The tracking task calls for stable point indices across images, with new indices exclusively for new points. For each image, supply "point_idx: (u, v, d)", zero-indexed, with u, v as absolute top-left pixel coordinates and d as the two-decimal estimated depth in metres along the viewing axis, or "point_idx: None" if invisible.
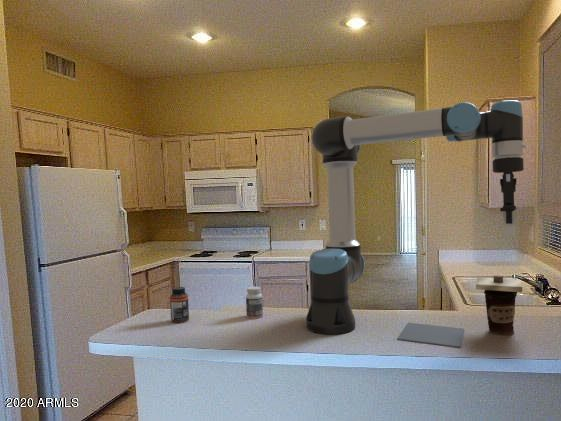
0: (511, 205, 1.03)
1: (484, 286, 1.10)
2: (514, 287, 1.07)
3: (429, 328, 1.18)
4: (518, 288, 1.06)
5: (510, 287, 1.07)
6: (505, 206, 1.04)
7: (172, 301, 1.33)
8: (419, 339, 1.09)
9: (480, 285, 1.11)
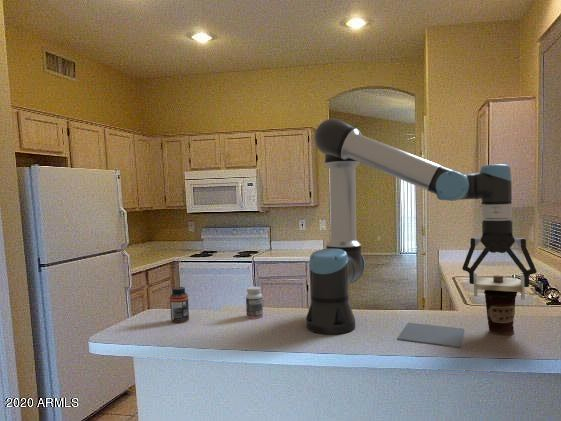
0: None
1: (484, 286, 1.10)
2: (514, 287, 1.07)
3: (429, 328, 1.18)
4: (518, 288, 1.06)
5: (510, 286, 1.07)
6: None
7: (172, 301, 1.33)
8: (419, 339, 1.09)
9: (480, 285, 1.11)
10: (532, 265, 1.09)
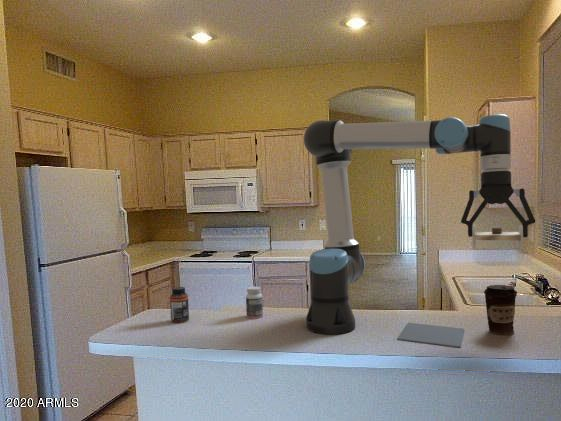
0: None
1: (482, 236, 1.10)
2: (512, 236, 1.07)
3: (429, 328, 1.18)
4: (516, 236, 1.06)
5: (508, 235, 1.07)
6: None
7: (172, 301, 1.33)
8: (419, 339, 1.09)
9: (478, 236, 1.11)
10: (531, 215, 1.08)
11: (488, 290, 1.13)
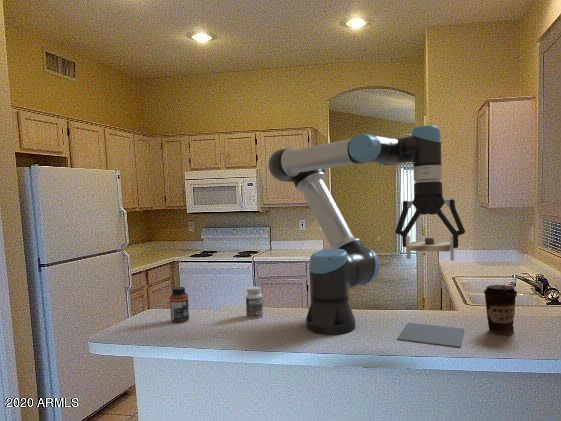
0: None
1: (413, 247, 1.10)
2: (441, 247, 1.07)
3: (429, 328, 1.18)
4: (445, 247, 1.06)
5: (437, 246, 1.07)
6: None
7: (172, 301, 1.33)
8: (419, 339, 1.09)
9: (409, 246, 1.11)
10: (460, 225, 1.08)
11: (488, 290, 1.13)
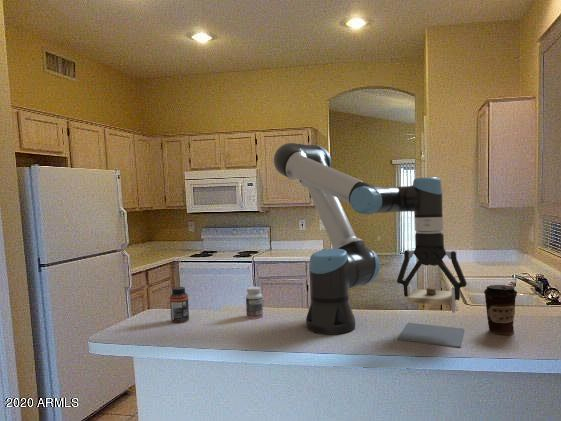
0: None
1: (415, 299, 1.10)
2: (443, 300, 1.07)
3: (429, 328, 1.18)
4: (446, 301, 1.06)
5: (439, 299, 1.07)
6: None
7: (172, 301, 1.33)
8: (419, 339, 1.09)
9: (411, 298, 1.11)
10: (462, 278, 1.09)
11: (488, 290, 1.13)
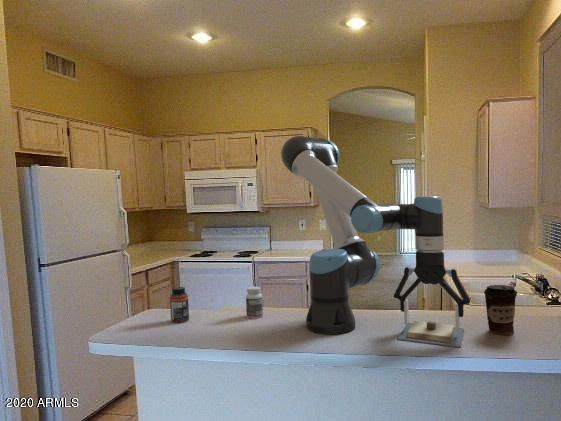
0: None
1: (415, 334, 1.11)
2: (443, 336, 1.07)
3: None
4: (447, 338, 1.07)
5: (439, 336, 1.08)
6: None
7: (172, 301, 1.33)
8: (419, 339, 1.09)
9: (411, 333, 1.11)
10: (465, 295, 1.08)
11: (488, 290, 1.13)
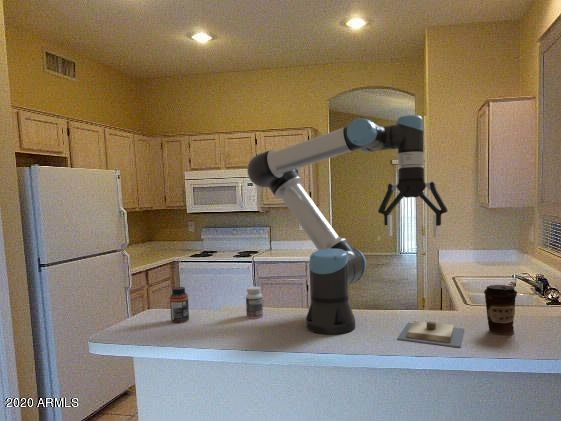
0: None
1: (415, 334, 1.11)
2: (443, 336, 1.07)
3: None
4: (447, 338, 1.07)
5: (439, 336, 1.08)
6: None
7: (172, 301, 1.33)
8: (419, 339, 1.09)
9: (411, 333, 1.11)
10: (442, 205, 1.18)
11: (488, 290, 1.13)
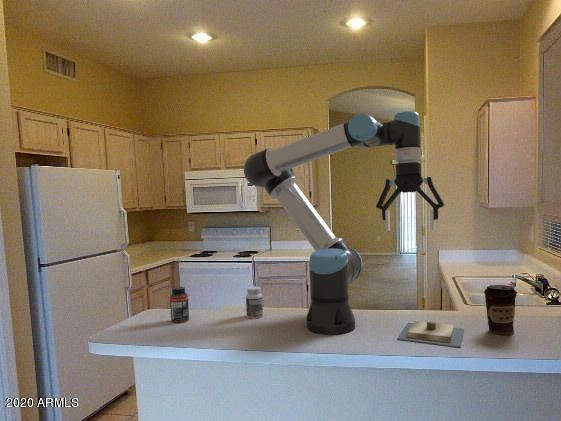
0: None
1: (415, 334, 1.11)
2: (443, 336, 1.07)
3: None
4: (447, 338, 1.07)
5: (439, 336, 1.08)
6: None
7: (172, 301, 1.33)
8: (419, 339, 1.09)
9: (411, 333, 1.11)
10: (439, 199, 1.20)
11: (488, 290, 1.13)
